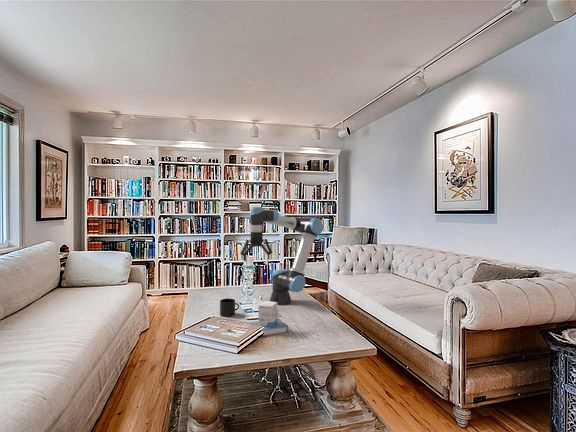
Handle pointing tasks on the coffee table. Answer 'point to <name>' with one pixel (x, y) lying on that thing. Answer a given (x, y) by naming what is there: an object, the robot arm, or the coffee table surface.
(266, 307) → the ink box
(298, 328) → the coffee table surface
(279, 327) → the book
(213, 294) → the coffee table surface
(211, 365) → the coffee table surface
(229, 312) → the mug
